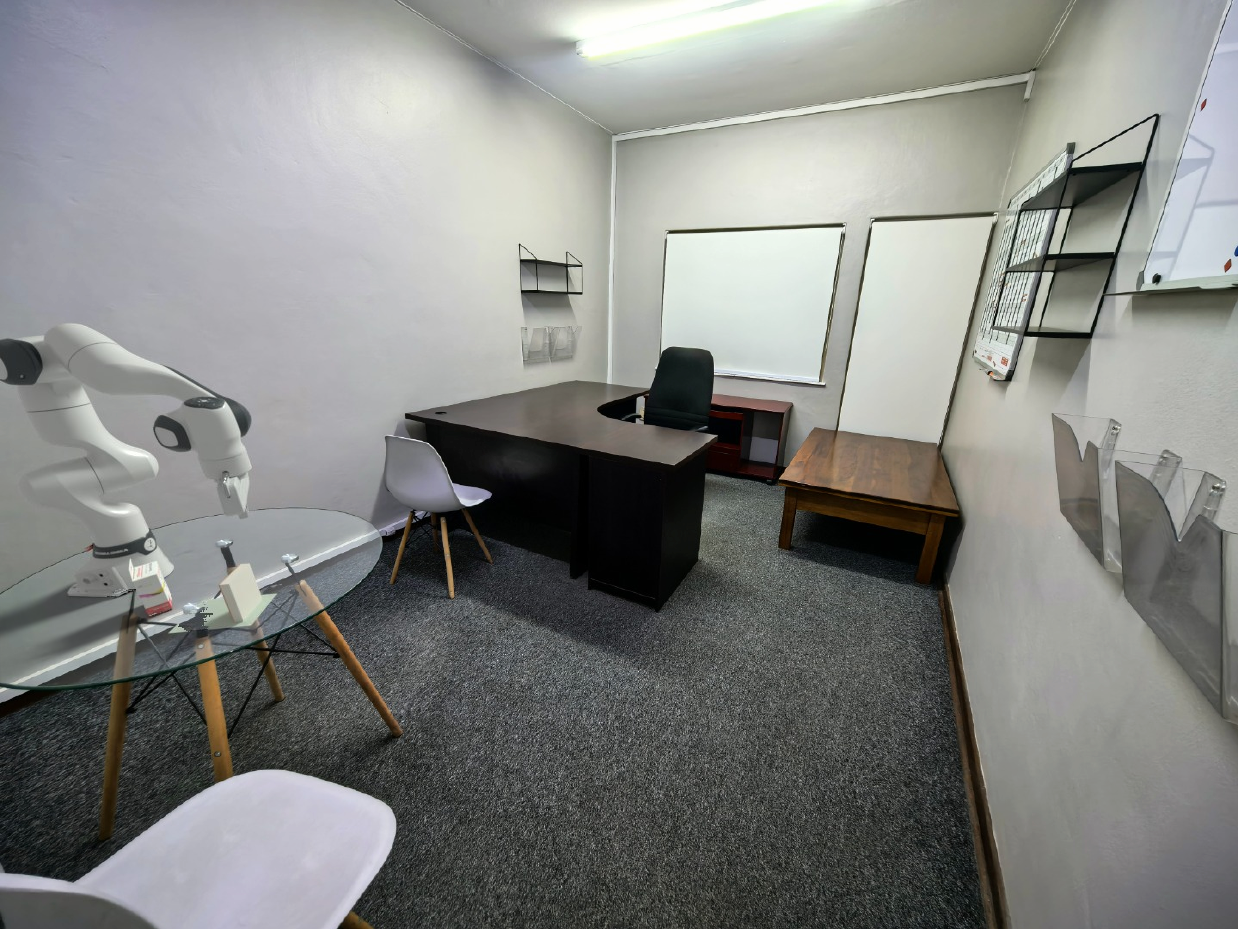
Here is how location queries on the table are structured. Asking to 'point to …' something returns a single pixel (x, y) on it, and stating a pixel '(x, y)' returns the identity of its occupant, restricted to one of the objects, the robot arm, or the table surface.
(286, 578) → the table surface
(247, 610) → the cream layered slab
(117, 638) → the table surface
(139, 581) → the ink cartridge box
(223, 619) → the felt pad
